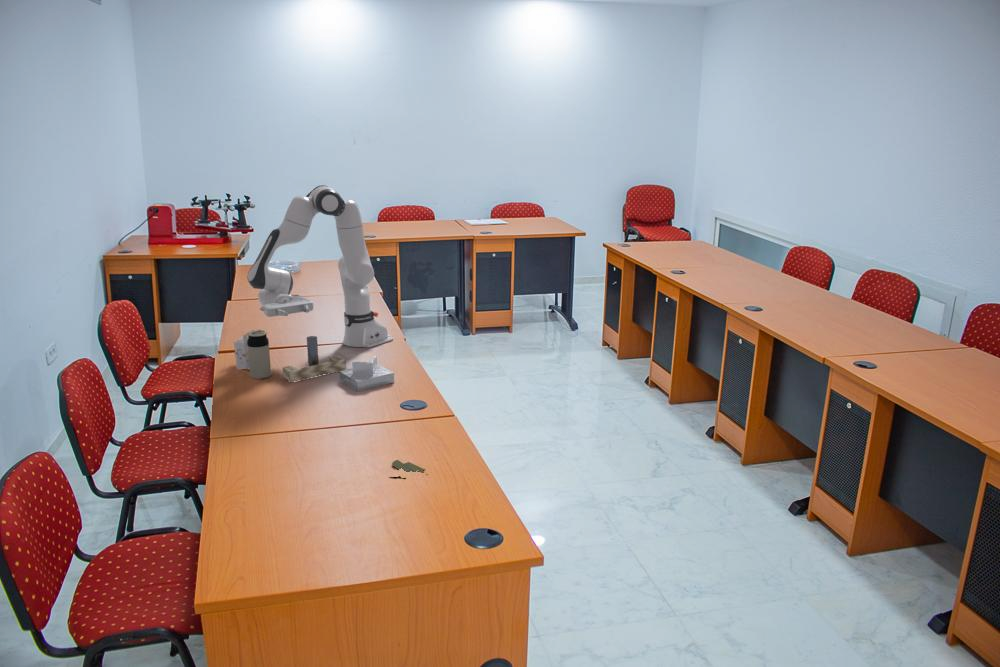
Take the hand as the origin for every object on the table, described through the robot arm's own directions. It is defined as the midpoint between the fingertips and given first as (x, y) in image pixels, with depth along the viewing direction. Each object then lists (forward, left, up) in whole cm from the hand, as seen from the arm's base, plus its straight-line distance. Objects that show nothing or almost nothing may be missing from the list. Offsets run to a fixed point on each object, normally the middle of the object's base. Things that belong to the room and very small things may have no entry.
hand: (297, 312), depth 318 cm
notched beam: (0, +13, -23) cm, 26 cm away
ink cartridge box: (+18, -12, -23) cm, 31 cm away
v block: (-12, +32, -23) cm, 41 cm away
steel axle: (0, +12, -23) cm, 26 cm away
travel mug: (+18, +2, -23) cm, 29 cm away
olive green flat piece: (+17, +108, -23) cm, 112 cm away
